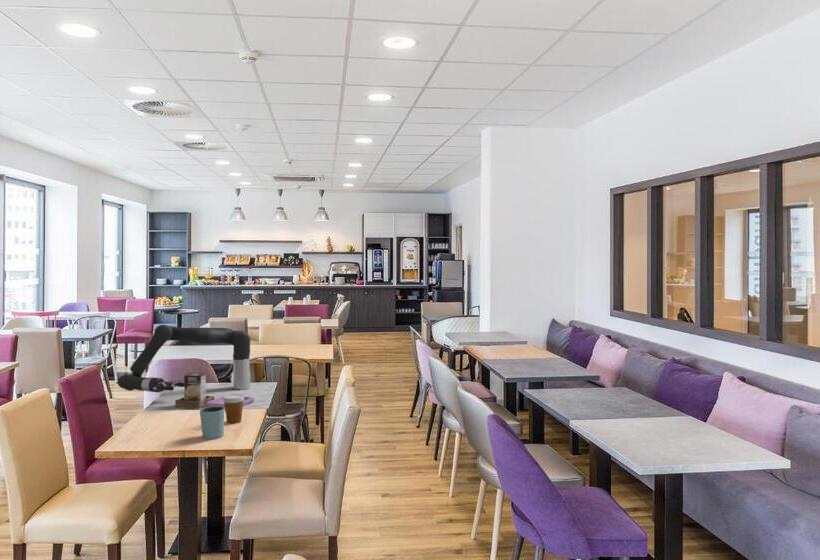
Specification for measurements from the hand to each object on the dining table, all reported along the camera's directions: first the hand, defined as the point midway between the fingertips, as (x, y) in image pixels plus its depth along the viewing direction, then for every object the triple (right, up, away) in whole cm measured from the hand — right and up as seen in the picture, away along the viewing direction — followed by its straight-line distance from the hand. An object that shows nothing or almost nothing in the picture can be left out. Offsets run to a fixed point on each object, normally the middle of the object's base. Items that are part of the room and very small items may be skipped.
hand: (178, 386), depth 310 cm
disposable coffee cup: (+39, -11, -34) cm, 52 cm away
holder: (+10, -9, -3) cm, 13 cm away
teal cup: (+36, -12, -56) cm, 67 cm away
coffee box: (+10, -9, -3) cm, 14 cm away
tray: (+28, -9, -2) cm, 29 cm away
